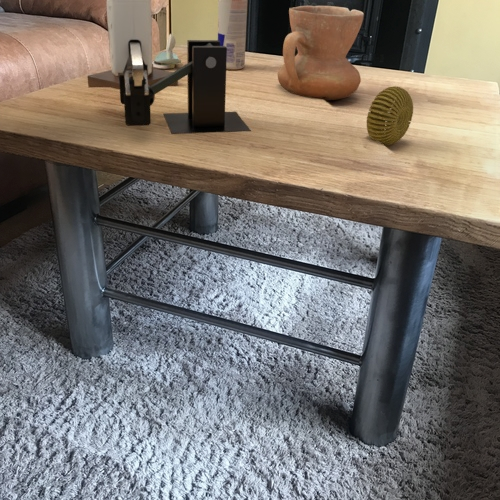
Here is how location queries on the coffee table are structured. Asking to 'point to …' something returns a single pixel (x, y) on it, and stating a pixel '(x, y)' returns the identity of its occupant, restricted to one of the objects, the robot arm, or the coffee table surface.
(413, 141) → the coffee table surface
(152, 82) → the button block
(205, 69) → the switch bracket
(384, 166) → the coffee table surface
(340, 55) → the ceramic jug
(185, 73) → the switch lever
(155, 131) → the coffee table surface
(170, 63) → the pacifier
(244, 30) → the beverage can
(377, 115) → the sculpture
